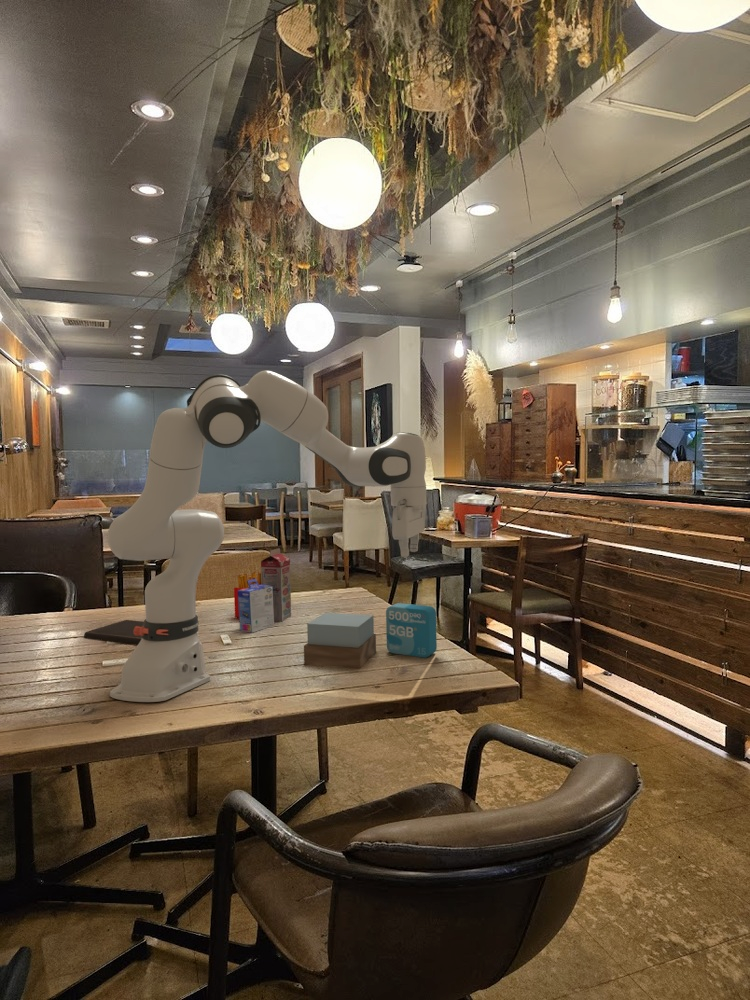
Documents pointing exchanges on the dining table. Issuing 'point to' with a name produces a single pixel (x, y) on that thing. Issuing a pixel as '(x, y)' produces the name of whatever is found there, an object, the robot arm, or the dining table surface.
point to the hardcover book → (117, 632)
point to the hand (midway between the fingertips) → (409, 554)
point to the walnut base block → (339, 654)
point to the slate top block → (340, 630)
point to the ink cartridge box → (255, 607)
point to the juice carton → (278, 583)
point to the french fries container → (243, 585)
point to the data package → (411, 630)
